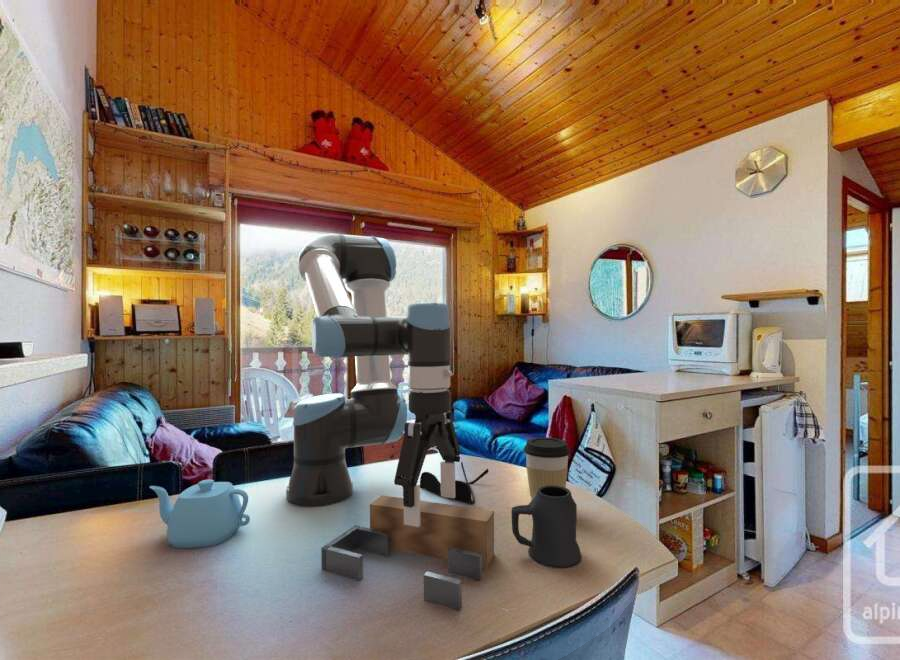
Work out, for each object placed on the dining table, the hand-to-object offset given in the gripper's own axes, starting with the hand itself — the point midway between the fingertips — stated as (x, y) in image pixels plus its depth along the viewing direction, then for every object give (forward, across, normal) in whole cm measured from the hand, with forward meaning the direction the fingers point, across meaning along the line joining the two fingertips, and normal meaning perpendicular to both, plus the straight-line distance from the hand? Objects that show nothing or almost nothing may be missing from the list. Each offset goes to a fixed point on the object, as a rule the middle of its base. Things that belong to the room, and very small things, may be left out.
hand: (431, 510), depth 78 cm
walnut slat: (+8, 0, 0) cm, 8 cm away
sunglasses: (+8, +30, +8) cm, 32 cm away
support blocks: (+8, -9, -8) cm, 14 cm away
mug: (+8, +7, -18) cm, 21 cm away
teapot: (+2, -18, +51) cm, 54 cm away
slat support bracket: (+7, -9, +10) cm, 15 cm away
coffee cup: (+8, +25, -14) cm, 30 cm away
